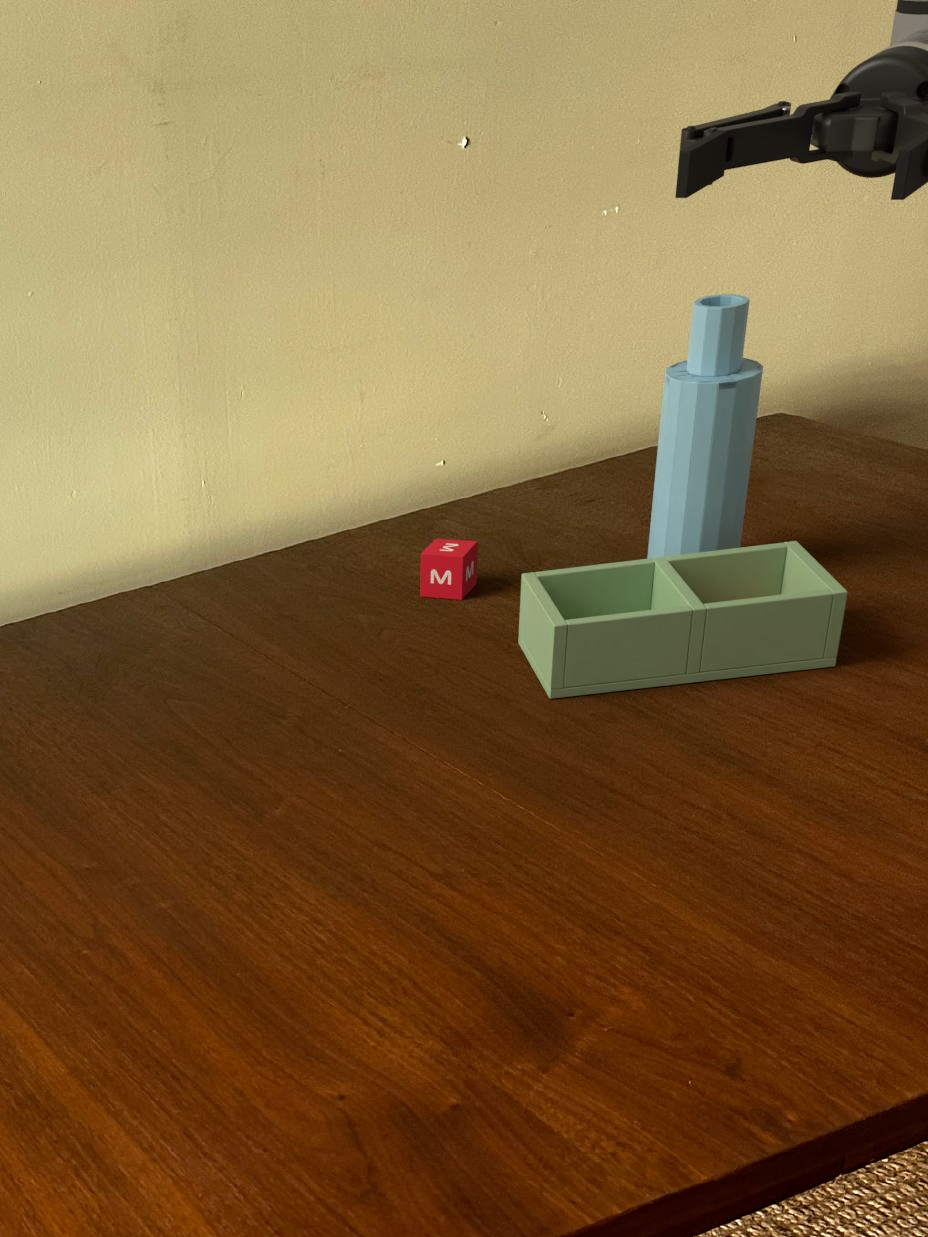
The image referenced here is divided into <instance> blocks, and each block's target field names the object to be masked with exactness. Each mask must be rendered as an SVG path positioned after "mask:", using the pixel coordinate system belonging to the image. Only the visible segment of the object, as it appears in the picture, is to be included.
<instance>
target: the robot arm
mask: <svg viewBox="0 0 928 1237" xmlns="http://www.w3.org/2000/svg"><path fill="white" fill-rule="evenodd" d="M791 108H792V102H790V101H787V100H780V101H777V103H773V104H771V105H769V106H766V107H764V108H760V109H756V110H752V111H749V112H745V113H741V114H736V115H732V116H728V117H725V118H720V119H716V120H712V121H708V122H704V123H700V124H699V123H698V124H696V125H695V124H694V125H688V126H686V127H683V128H681V133H680V143H679V152H678V153H679V154H678V164H677V175H676V176H677V177H676V188H675V197H674V198H675V199H687V198H689V197H691V196H692V195H694V194H696V193H698V192H699V191H701V190H703V189H704V188H706V187H707V186H712V185H713V183H715V182H716V181H718V180H719V179H721V178H723V177H724V176H725V171H727V170H733V169H738V168H744V167H750V166H755V165H761V164H766V163H771V162H778V161H782V160H783V161H784V160H788V159H789V160H790V161H791V162H794V163H798V164H803V165H804V164H805V165H806V164H810V163H816V162H820V161H826V160H827V161H832V162H836V163H837V164H838V166H839V167H841V168H842V169H843V170H845V171H846V172H848V173H850V174H851V175H854V176H857V177H860V178H867V179H878V178H883V177H887V176H890V175H893V174H894V178H893V184H892V190H891V197H890V201H904V200H906V199H907V198H909V197H910V196H911V195H912V194H914V193H915V192H916V191H918V190H920V189H921V188H922V187H923V186H924V185H927V183H928V0H897V2H896V8H895V10H894V16H893V22H892V29H891V35H890V41H889V46H888V47H886V48H883V49H882V50H881V51H878V52H877V53H875V54H874V55H871V56H870V57H869V58H867V59H865V60H863V61H861V62H860V63H859V64H857V65H856V66H855V67H853V68H852V69H851V70H850V71H849V72H848V73H847V74H846V75H845V76H844V77H843V78H842V79H841V81H840V82H839V83H838V85H837V86H836V87H835V89H834V91H833V92H832V94H831V96H830V98H829V99H825V100H820V101H814V102H813V101H812V102H809V103H803V104H799V105H798V106H797V107H796V108H795V109H794V111H793V113H791ZM811 146H813V147H814V148H815V149H811Z"/></svg>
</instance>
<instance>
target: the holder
mask: <svg viewBox="0 0 928 1237" xmlns="http://www.w3.org/2000/svg"><path fill="white" fill-rule="evenodd" d="M519 597H520V599H519V617H518V618H519V620H518V641H517V643H518V645H519V647H520V649H521V651H522V652H523V654H524V656H525V658H526V659H527V662H528V663H529V665H530V667H531V669H532V670H533V672H534V673H535V674H534V675H535V676H536V677H537V679H538V680H539V682H540V685H541V686H542V688H543V690H544V691H545V693H546V696H548V698H549V699H551V700H553V699H560V698H561V699H563V698H570V697H579V696H587V695H596V694H597V695H598V694H605V693H613V692H614V693H615V692H622V691H632V690H639V689H648V688H656V687H657V688H658V687H665V686H666V687H667V686H675V685H685V684H692V683H701V682H709V681H720V680H727V679H737V678H744V677H745V678H746V677H753V676H762V675H772V674H778V673H779V674H780V673H789V672H797V671H806V670H815V669H823V668H824V669H825V668H832V667H836V664H837V657H838V653H839V646H840V640H841V634H842V628H843V622H844V617H845V611H846V604H847V599H848V590H847V589H846V588H845V587H843V585H842V584H841V583H839V581H838V580H836V578H835V577H834V576H833V575H831V573H829V571H828V570H826V568H824V566H823V565H822V564H820V563H819V561H817V560H816V559H815V558H814V557H813V556H812V555H811V554H810V553H809V552H808V551H807V550H806V549H805V548H804V547H803V546H802V545H801V544H800V543H799V542H798V541H797V540H790V541H784V542H776V543H767V544H758V545H752V546H743V547H742V546H740V548H733V549H725V550H716V551H708V552H699V553H691V554H683V555H674V556H666V557H657V558H652V559H651V558H649V559H647V558H642V559H641V558H640V559H632V560H625V561H617V562H608V563H600V564H590V565H583V566H575V567H565V568H557V569H549V570H542V571H535V572H533V571H531V572H524V573H521V579H520V596H519Z"/></svg>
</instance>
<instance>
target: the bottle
mask: <svg viewBox="0 0 928 1237" xmlns="http://www.w3.org/2000/svg"><path fill="white" fill-rule="evenodd" d="M750 301H751V300H750V298H749V297H747V296H745V295H741V294H735V293H733V294H732V293H728V294H727V293H722V294H720V293H719V294H713V295H712V294H711V295H706V296H703V297H700V298H697V299H695V300H694V302H693V303H692V311H691V322H690V330H689V331H690V333H689V339H688V340H689V341H688V350H687V351H688V352H687V360H682V361H679V362H676V363H673V364H672V365H670V366H667V367H666V370H665V372H664V377H663V387H662V399H661V410H660V419H659V429H658V431H659V432H658V441H657V450H656V451H657V452H656V461H655V462H656V463H655V473H654V482H653V494H652V502H651V505H652V506H651V516H650V525H649V534H648V535H649V536H648V546H647V556H646V559H649V558H651V559H652V558H657V557H666V556H674V555H683V554H691V553H699V552H708V551H716V550H725V549H733V548H741V544H742V538H743V529H744V520H745V513H746V505H747V498H748V489H749V482H750V474H751V467H752V466H751V465H752V459H753V450H754V443H755V441H754V440H755V434H756V426H757V418H758V411H759V404H760V403H759V402H760V395H761V389H762V388H761V387H762V379H763V373H764V372H763V371H764V365H762V364H761V363H760V362H759V361H757V360H754V359H750V358H747V357H744V349H745V342H746V333H747V326H748V325H747V324H748V319H749V318H748V316H749V308H750Z"/></svg>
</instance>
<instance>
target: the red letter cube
mask: <svg viewBox="0 0 928 1237" xmlns="http://www.w3.org/2000/svg"><path fill="white" fill-rule="evenodd" d="M478 545H479V541H478V540H465V539H448V538H435V539H434V540H433V541H432V542H431V543H430V544H429V545H428V546H427V547H425V549H423V551H422V552H421V553H420V586H419V587H420V588H419V596H420V597H421V598H433V599H446V600H456V601H457V600H458V601H462V600H463V599H465V597H466V596H467V595H468V594H470V592H471V590H472V589H473V588H474V587H475V586H476V585H477V577H478V548H479V546H478Z"/></svg>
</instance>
